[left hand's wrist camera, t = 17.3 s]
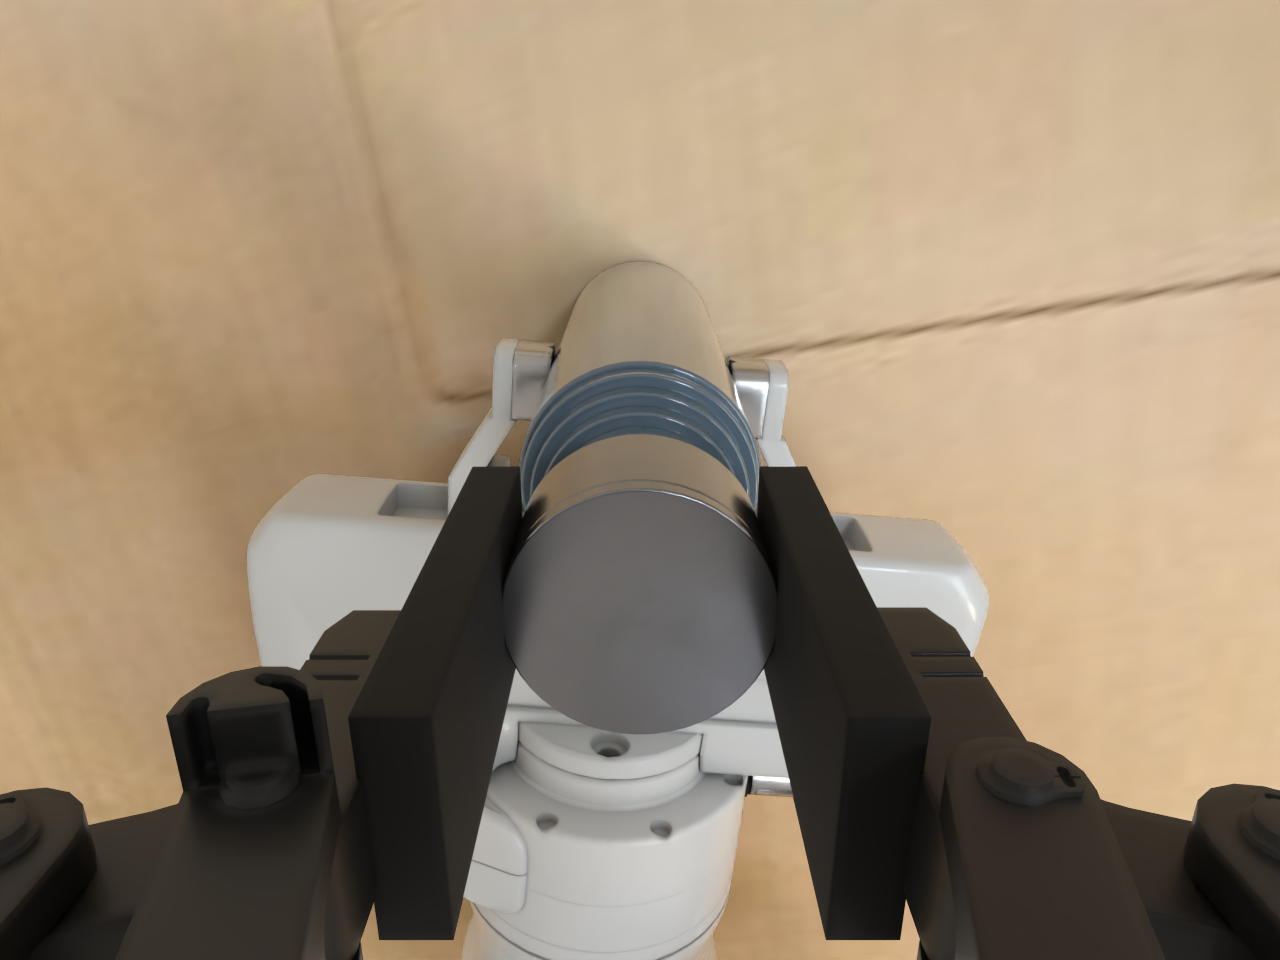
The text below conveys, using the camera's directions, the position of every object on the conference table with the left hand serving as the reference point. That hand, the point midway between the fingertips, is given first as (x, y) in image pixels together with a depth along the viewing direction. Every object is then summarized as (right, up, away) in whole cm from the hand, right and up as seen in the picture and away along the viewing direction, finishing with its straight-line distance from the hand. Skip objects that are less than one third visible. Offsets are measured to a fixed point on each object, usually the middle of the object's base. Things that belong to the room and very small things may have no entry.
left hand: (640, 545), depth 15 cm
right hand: (0, +4, +9) cm, 10 cm away
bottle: (0, +6, +15) cm, 17 cm away
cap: (0, -1, -2) cm, 2 cm away
